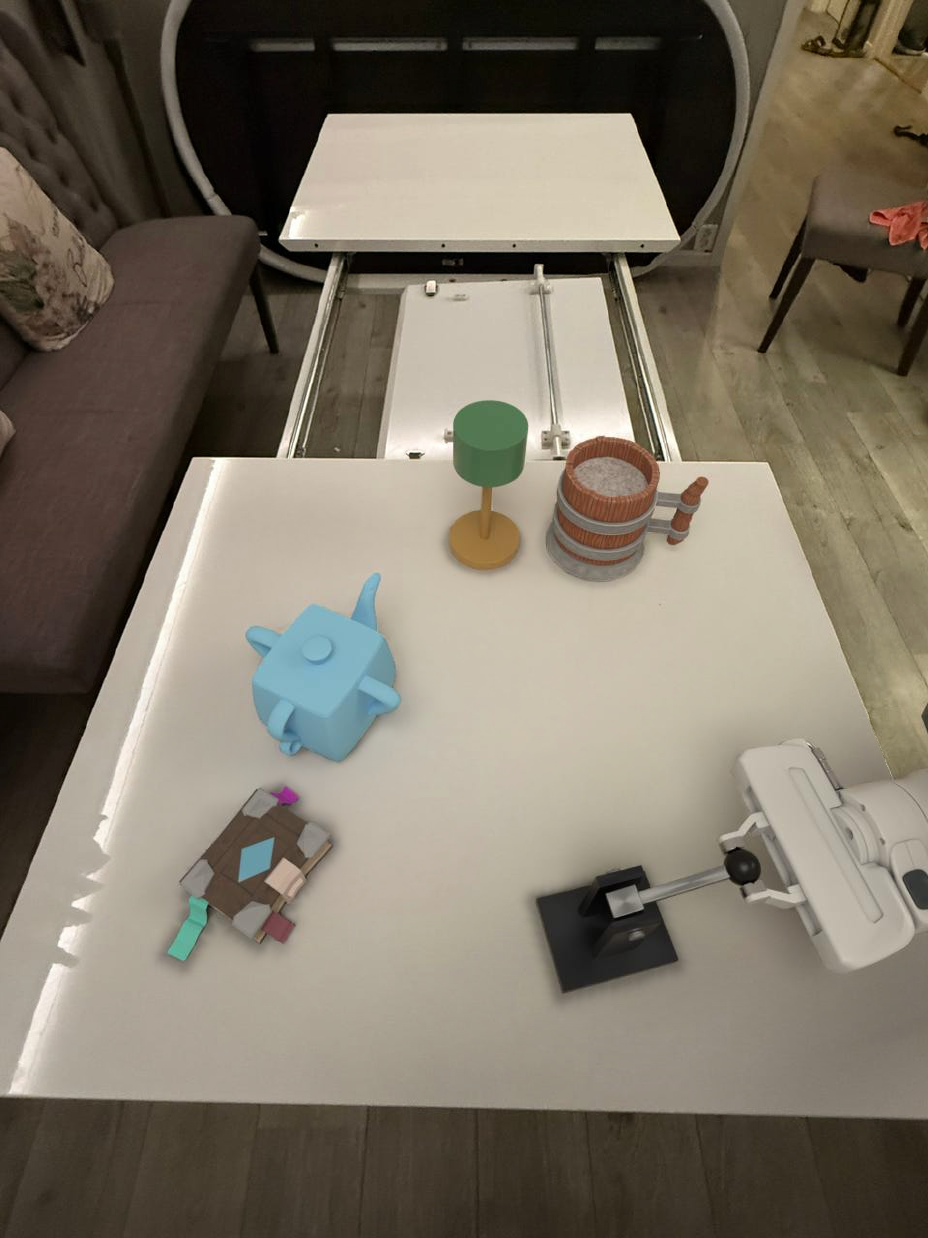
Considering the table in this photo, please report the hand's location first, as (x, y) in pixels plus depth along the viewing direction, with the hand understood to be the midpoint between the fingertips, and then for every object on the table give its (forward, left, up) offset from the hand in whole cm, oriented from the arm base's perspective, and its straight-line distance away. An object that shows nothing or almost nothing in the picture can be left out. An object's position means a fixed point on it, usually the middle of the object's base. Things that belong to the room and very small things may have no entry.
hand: (732, 870), depth 66 cm
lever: (0, +4, -3) cm, 5 cm away
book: (+18, +42, -13) cm, 48 cm away
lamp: (+54, +2, -13) cm, 56 cm away
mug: (+47, -15, -13) cm, 51 cm away
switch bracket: (+1, +10, -13) cm, 17 cm away
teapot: (+37, +28, -13) cm, 48 cm away
